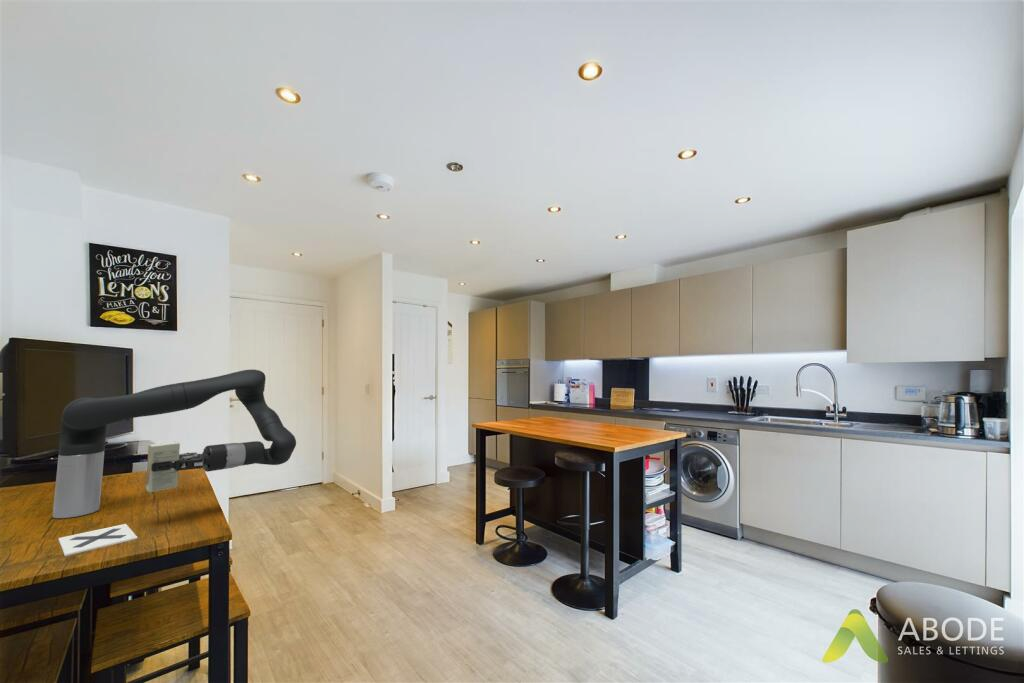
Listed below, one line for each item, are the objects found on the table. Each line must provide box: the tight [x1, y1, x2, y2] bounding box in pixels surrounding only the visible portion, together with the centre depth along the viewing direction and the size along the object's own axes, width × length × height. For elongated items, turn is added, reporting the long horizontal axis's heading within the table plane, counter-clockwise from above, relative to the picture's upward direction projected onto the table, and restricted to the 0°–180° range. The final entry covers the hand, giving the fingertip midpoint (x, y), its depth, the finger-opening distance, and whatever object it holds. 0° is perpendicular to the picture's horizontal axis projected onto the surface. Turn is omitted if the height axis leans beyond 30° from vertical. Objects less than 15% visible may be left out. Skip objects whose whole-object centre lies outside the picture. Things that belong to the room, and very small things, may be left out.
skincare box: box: [145, 441, 181, 493], centre depth 110 cm, size 6×4×12 cm
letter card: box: [58, 523, 138, 557], centre depth 98 cm, size 14×12×1 cm
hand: (150, 466), depth 107 cm, fingers closed on skincare box, 4 cm apart
